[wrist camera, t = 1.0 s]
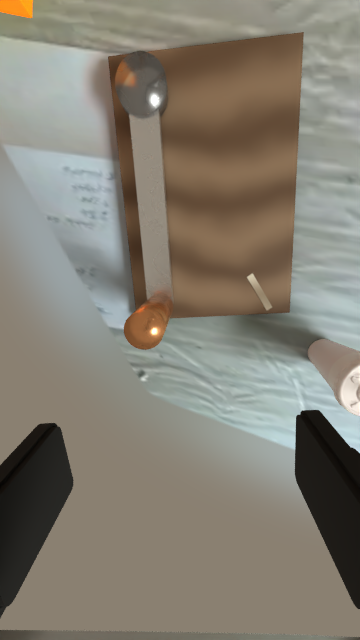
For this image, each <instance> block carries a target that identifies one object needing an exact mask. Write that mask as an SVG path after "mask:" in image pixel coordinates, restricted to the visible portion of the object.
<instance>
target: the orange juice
mask: <svg viewBox="0 0 360 640" xmlns="http://www.w3.org/2000/svg"><path fill="white" fill-rule="evenodd" d="M0 12H4V13H8V14H13V15H18V16H23V17H28V18H32V0H0Z"/></svg>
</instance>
